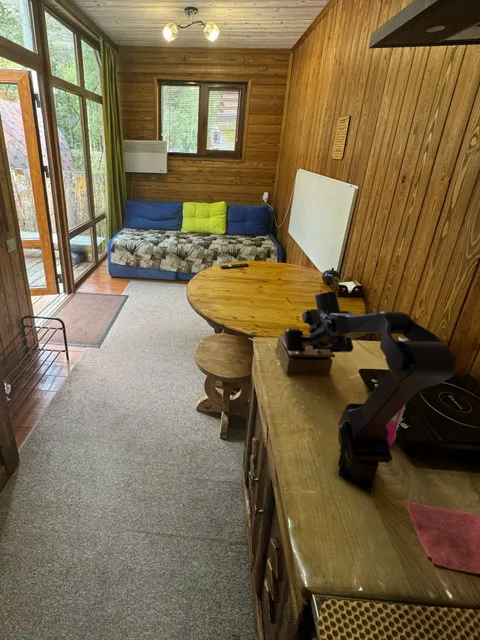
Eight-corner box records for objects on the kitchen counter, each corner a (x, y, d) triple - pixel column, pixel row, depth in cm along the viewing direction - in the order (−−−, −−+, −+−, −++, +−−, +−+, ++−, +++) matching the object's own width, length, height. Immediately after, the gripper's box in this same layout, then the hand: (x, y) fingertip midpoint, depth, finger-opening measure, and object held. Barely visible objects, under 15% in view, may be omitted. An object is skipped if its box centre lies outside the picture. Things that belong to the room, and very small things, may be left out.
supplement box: (372, 419, 81) (382, 384, 78) (397, 434, 77) (409, 398, 74) (364, 432, 78) (374, 396, 74) (390, 448, 74) (402, 411, 70)
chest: (329, 375, 97) (332, 360, 95) (286, 374, 97) (288, 359, 95) (314, 350, 109) (317, 336, 107) (276, 349, 109) (278, 335, 107)
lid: (334, 357, 94) (336, 344, 93) (290, 356, 94) (291, 343, 93) (317, 336, 107) (318, 325, 106) (278, 335, 107) (279, 324, 106)
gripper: (355, 306, 87) (332, 321, 101) (290, 305, 87) (276, 320, 101) (365, 346, 82) (339, 356, 96) (295, 345, 82) (280, 355, 96)
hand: (308, 346), depth 97 cm, fingers closed on lid, 6 cm apart
